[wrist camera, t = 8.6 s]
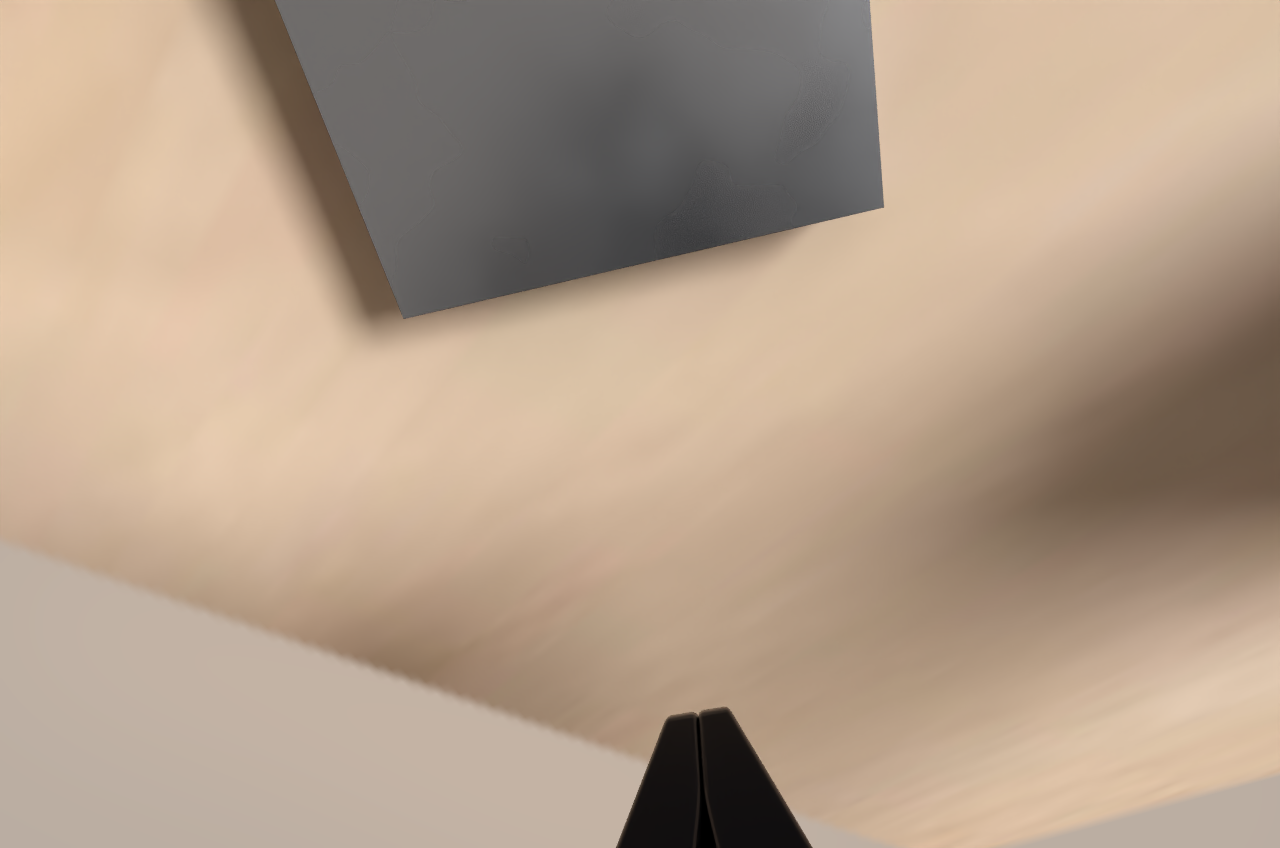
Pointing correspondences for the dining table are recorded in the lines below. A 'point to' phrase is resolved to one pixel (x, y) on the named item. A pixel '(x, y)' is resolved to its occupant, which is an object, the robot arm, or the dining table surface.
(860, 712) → the dining table surface
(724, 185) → the grey flat block
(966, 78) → the dining table surface
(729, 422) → the dining table surface
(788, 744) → the dining table surface
